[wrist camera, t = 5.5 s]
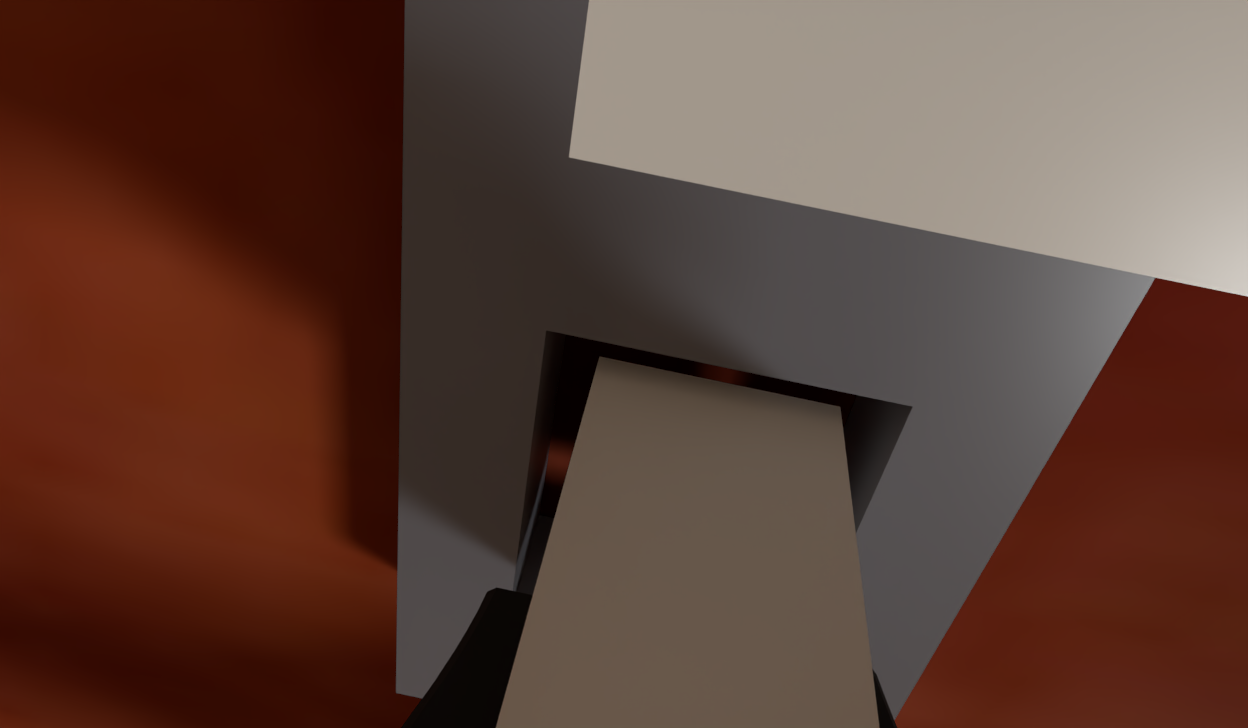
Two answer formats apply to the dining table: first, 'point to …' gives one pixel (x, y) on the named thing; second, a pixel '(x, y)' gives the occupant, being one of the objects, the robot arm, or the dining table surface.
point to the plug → (697, 567)
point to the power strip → (795, 251)
